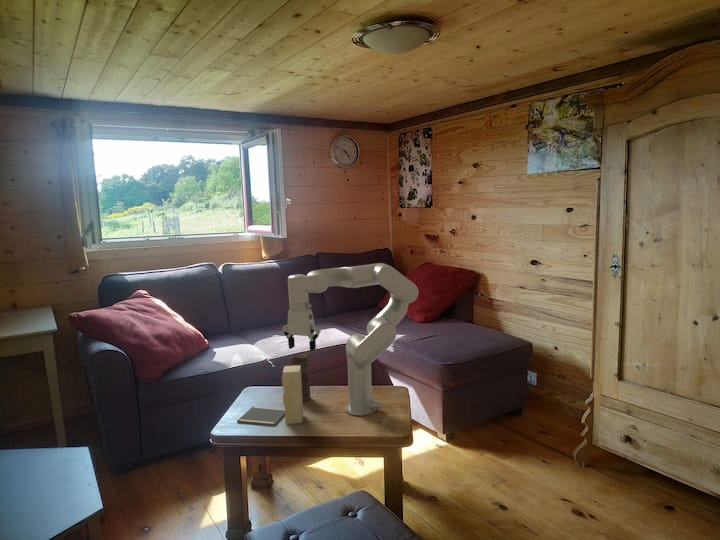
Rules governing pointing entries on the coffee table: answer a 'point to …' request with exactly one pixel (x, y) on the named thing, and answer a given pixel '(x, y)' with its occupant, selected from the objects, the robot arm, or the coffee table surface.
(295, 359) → the brown rounded cylinder
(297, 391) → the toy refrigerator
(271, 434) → the coffee table surface
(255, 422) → the mat
